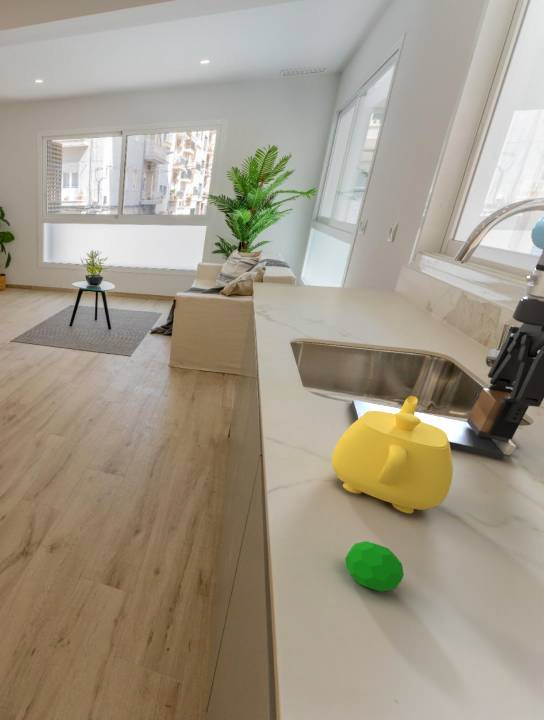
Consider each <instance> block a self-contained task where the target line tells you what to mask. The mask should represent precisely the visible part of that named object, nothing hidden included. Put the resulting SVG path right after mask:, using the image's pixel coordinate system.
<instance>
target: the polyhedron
mask: <svg viewBox="0 0 544 720" xmlns="http://www.w3.org/2000/svg"><path fill="white" fill-rule="evenodd" d="M344 560H345V566H346V569H347V571H348V572H349V574H350V576H351V577H352V578H353V579H354V580H355V582H357V583H358V584H359V585H361V586H364V587H367V588H368V589H372V590H374V591H377V592H387V591H392V590H394V589H396V588H397V587H398V586H399V585H400V583H401V582H402V581H403V578H404V575H405V574H404V567H403V563H402V562H401V560H400V559H399V558H398V556H396V554H395V553H394V552H393V551H392V550H391V549H390V548H389V547H387V546H383V545H380V544H377V543H374V542H370V541H367V540H365V541H360V542H357V543H354V545H353V546H352V547H351V548H350V549H349V551H348V552H347V554H346V556H345V558H344Z"/></svg>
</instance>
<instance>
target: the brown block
mask: <svg viewBox="0 0 544 720" xmlns="http://www.w3.org/2000/svg"><path fill="white" fill-rule="evenodd" d="M510 396H511V393H506V392H501V391H496V390H490V389H489V388H482V389H481V392H480V394H479V395H478V398H477V400H476V402H475V404H474V405H473V408H472V410H471V412H470V414H469V415H468V418H467V420H466V423H468V424H469V425H470V427H471V428H472V429H473V431H474V432H475V433H476V435H477V436H480V437H485V438H489V439H492V440H493V441H496V440H498V441H503V442H507V443H508V441H509V440H511V439H508V438H503V437H498V436H494V435H490V434H489V431H490V429H491V427H492V425H493V423H494V421H495V419H496V417H497V415H498V413H499V411H500V409H501V407H502V405H503V403H504V401H503V398H510Z"/></svg>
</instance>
